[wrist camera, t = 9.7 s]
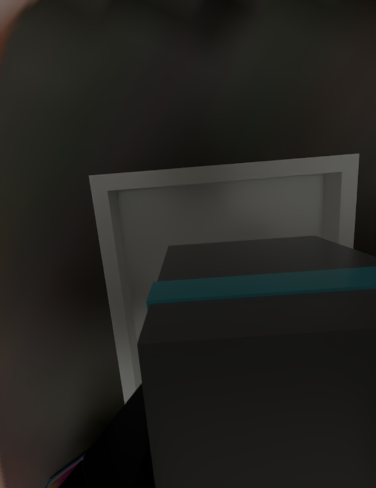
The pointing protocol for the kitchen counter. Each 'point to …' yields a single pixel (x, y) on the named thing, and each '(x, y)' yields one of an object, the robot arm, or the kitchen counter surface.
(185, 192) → the tray
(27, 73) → the kitchen counter surface
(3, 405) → the kitchen counter surface
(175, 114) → the kitchen counter surface
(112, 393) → the kitchen counter surface
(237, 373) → the block
